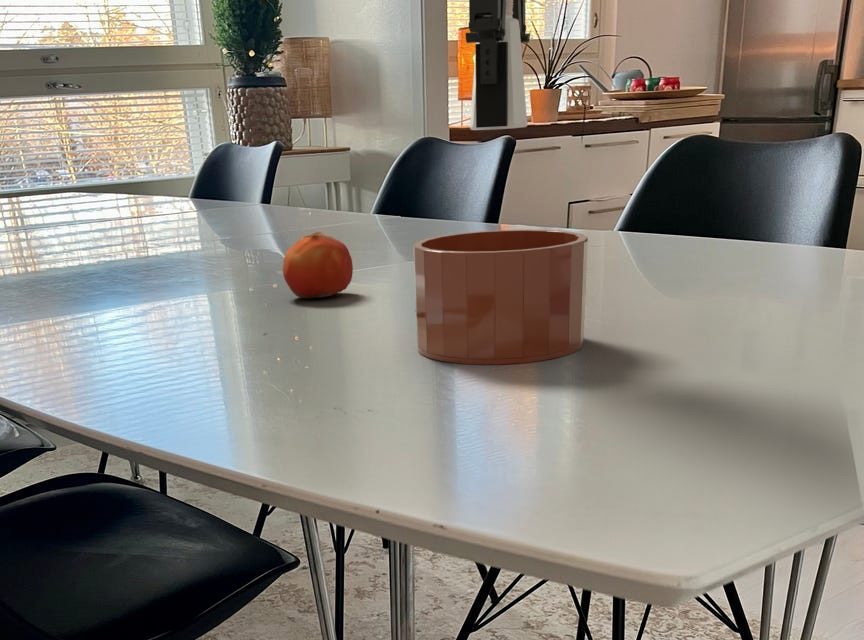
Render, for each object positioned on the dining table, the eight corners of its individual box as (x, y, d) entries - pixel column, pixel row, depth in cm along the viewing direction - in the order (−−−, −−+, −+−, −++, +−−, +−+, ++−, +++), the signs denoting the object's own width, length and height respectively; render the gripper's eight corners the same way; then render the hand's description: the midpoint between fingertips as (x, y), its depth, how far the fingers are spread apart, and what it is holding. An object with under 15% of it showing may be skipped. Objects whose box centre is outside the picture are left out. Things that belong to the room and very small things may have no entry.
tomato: (288, 305, 131) (281, 238, 127) (283, 294, 139) (277, 231, 135) (359, 299, 132) (355, 233, 128) (350, 288, 140) (346, 226, 136)
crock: (592, 329, 108) (597, 228, 103) (569, 366, 94) (573, 251, 89) (440, 328, 113) (438, 231, 108) (397, 363, 99) (392, 253, 94)
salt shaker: (521, 128, 91) (522, -18, 86) (462, 131, 93) (459, -12, 88) (533, 125, 96) (535, -14, 90) (477, 128, 97) (475, -8, 92)
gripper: (478, -165, 92) (480, 123, 103) (424, -214, 77) (433, 131, 87) (562, -176, 90) (555, 119, 101) (523, -229, 74) (520, 127, 85)
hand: (498, 124), depth 94 cm, fingers closed on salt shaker, 5 cm apart
